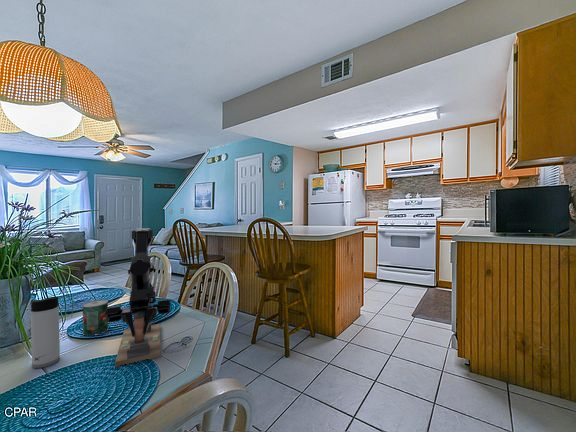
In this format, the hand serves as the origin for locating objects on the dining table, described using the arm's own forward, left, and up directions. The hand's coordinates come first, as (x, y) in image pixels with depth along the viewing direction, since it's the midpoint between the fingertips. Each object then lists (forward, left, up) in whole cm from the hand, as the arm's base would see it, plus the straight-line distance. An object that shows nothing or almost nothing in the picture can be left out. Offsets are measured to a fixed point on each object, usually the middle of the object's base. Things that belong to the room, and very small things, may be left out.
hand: (139, 335), depth 84 cm
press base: (-8, -3, -7) cm, 11 cm away
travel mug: (+2, -26, -7) cm, 27 cm away
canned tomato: (-19, -25, -7) cm, 33 cm away
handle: (-1, -1, -4) cm, 4 cm away
